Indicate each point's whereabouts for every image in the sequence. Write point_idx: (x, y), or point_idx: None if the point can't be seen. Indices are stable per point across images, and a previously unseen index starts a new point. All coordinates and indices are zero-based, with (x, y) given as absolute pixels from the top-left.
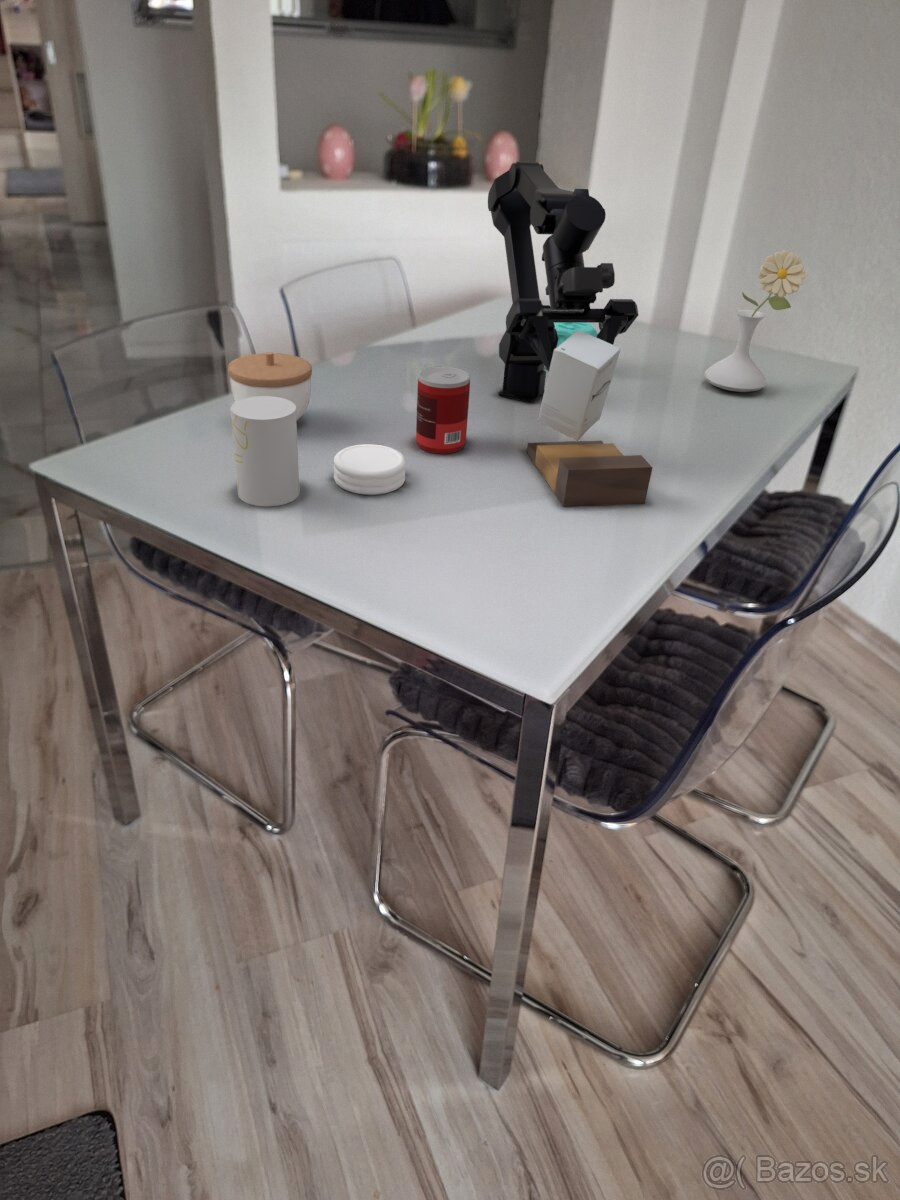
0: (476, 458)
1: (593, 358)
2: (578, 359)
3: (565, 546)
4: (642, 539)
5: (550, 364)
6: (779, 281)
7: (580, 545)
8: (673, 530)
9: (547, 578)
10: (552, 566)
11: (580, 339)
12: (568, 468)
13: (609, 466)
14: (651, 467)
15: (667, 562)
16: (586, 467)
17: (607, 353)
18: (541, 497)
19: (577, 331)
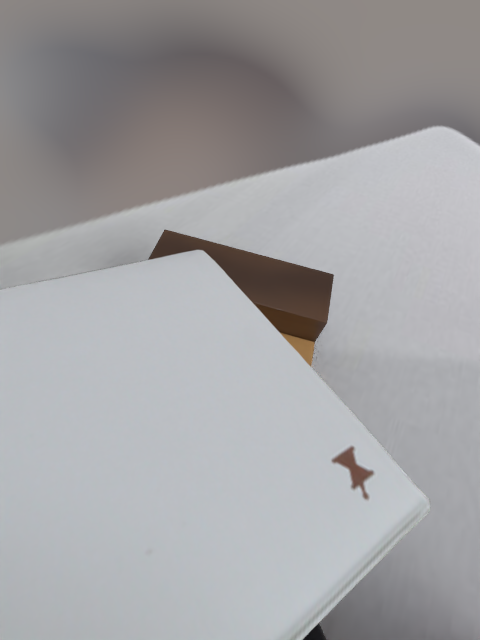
0: (416, 607)
1: (168, 303)
2: (274, 328)
3: (355, 238)
4: (248, 215)
5: (319, 635)
6: None
7: (335, 233)
8: (192, 215)
9: (401, 204)
10: (387, 216)
11: (43, 608)
12: (330, 279)
13: (245, 258)
14: (166, 230)
15: (253, 178)
16: (293, 270)
17: (18, 306)
18: (332, 358)
19: None
